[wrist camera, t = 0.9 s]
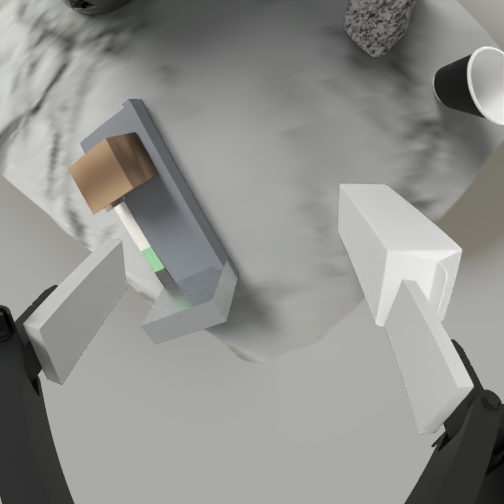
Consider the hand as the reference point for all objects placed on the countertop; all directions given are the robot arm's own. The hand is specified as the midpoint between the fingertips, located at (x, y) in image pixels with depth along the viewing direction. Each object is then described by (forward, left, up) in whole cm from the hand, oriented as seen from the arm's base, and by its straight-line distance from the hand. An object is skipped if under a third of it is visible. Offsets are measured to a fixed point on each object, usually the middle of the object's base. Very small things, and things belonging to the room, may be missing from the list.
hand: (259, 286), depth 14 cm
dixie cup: (-2, +25, -25) cm, 35 cm away
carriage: (-9, -15, -23) cm, 29 cm away
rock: (-14, +21, -25) cm, 35 cm away
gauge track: (-3, -15, -24) cm, 29 cm away
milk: (+8, +8, -25) cm, 27 cm away
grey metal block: (+8, -15, -23) cm, 29 cm away
